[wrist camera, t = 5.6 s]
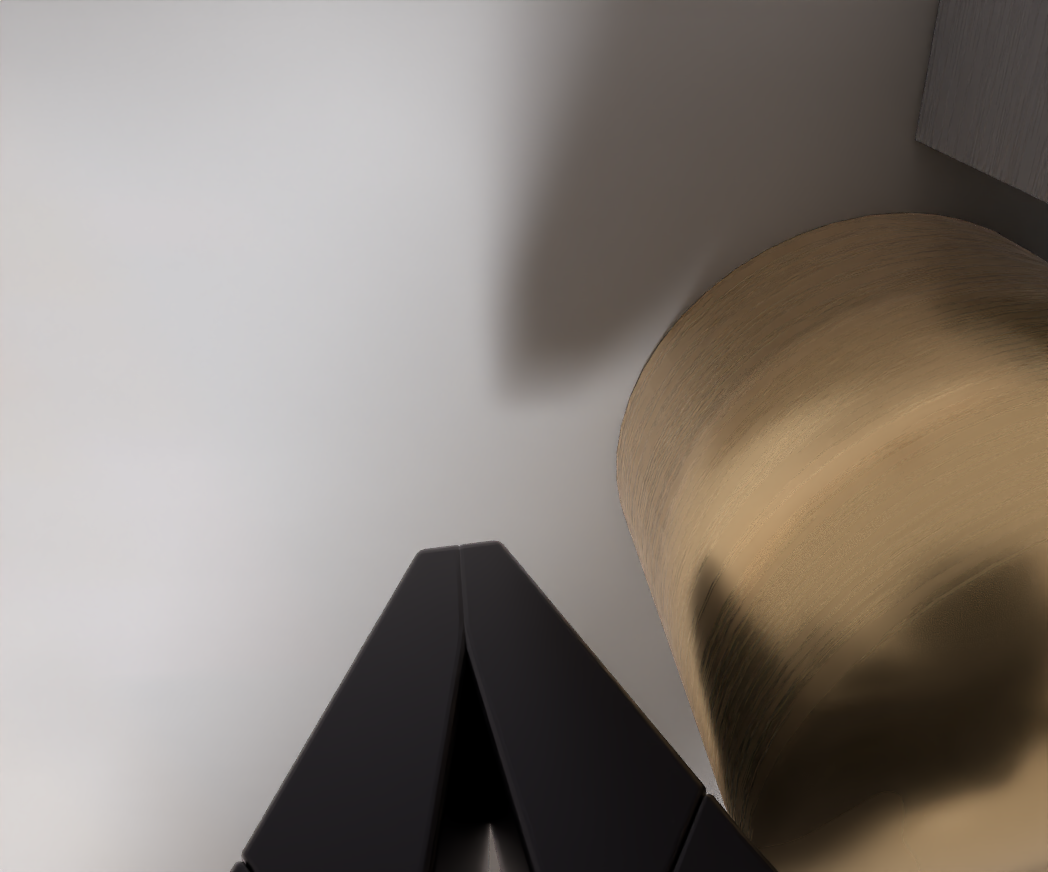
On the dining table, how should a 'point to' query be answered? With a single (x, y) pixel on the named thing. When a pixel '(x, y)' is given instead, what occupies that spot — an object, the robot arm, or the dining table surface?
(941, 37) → the valve body
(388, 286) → the dining table surface
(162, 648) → the dining table surface
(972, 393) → the cylinder
